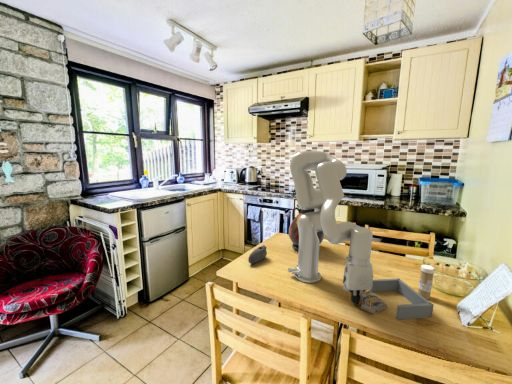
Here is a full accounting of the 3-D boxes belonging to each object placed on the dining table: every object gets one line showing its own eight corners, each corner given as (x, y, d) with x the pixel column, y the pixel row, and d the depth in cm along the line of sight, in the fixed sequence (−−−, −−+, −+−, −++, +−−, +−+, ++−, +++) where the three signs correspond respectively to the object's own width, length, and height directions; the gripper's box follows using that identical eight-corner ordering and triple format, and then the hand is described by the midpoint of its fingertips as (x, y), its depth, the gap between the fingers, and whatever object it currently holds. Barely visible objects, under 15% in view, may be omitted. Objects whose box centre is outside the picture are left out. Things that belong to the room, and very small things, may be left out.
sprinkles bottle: (414, 293, 103) (418, 264, 101) (424, 292, 103) (428, 263, 101) (423, 300, 98) (427, 269, 96) (433, 299, 99) (437, 269, 97)
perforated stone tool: (252, 267, 124) (252, 254, 123) (244, 264, 128) (244, 252, 127) (269, 257, 136) (269, 246, 135) (262, 255, 139) (262, 243, 138)
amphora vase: (327, 246, 153) (330, 203, 148) (317, 259, 134) (320, 210, 130) (295, 239, 164) (297, 199, 159) (282, 250, 145) (283, 205, 140)
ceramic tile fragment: (356, 288, 101) (382, 291, 99) (355, 295, 102) (381, 298, 99) (361, 306, 89) (391, 310, 87) (361, 314, 90) (390, 318, 88)
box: (398, 319, 87) (399, 307, 86) (369, 290, 105) (370, 279, 104) (431, 317, 88) (433, 304, 87) (397, 288, 106) (399, 278, 105)
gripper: (344, 264, 87) (341, 310, 90) (383, 263, 88) (378, 308, 91) (336, 255, 94) (333, 298, 98) (372, 254, 96) (368, 296, 99)
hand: (355, 303), depth 94 cm, fingers closed
